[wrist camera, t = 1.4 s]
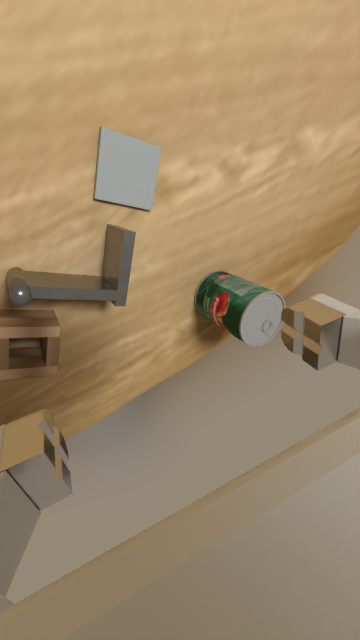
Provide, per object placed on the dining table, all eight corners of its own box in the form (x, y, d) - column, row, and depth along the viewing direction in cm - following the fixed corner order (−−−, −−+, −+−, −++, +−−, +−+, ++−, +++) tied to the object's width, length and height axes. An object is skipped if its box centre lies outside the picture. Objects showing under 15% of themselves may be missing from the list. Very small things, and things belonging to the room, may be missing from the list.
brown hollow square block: (-5, 358, 34) (-5, 380, 30) (-6, 309, 33) (-6, 327, 29) (50, 354, 38) (57, 375, 34) (53, 310, 36) (60, 326, 32)
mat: (93, 198, 33) (94, 198, 33) (100, 127, 31) (101, 126, 31) (149, 210, 37) (151, 210, 36) (159, 147, 35) (161, 147, 34)
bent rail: (6, 285, 32) (8, 309, 26) (6, 206, 30) (9, 213, 24) (109, 290, 38) (130, 311, 32) (117, 225, 36) (141, 234, 30)
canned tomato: (185, 296, 45) (231, 324, 36) (220, 259, 45) (273, 278, 37) (210, 326, 49) (255, 357, 41) (241, 292, 50) (293, 316, 42)
